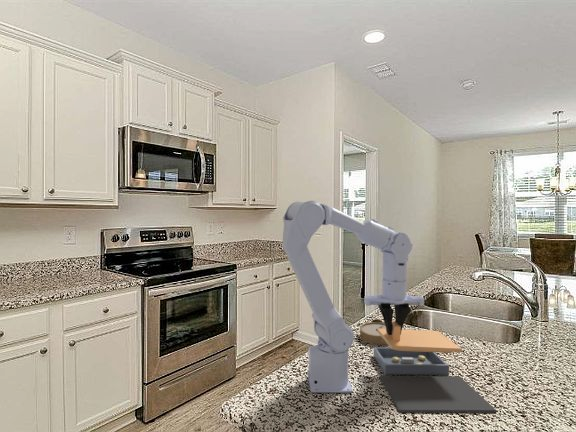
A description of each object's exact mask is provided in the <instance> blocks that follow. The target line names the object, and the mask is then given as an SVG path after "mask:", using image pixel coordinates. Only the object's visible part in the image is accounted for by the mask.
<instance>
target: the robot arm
mask: <svg viewBox="0 0 576 432" xmlns="http://www.w3.org/2000/svg"><path fill="white" fill-rule="evenodd" d="M282 220H283V229H282V230H283V233H282V244H281V245H282V249H283V250H284V253H285V255H286V257H287V259H288V262H289V263H290V266H291V268H292V270H293V272H294V275H295V277H296V279H297V281H298V283H299V285H300V288H301V289H302V292H303V294H304V296H305V299H306V301H307V303H308V304H309V305H308V306H309V307H310V309H311V312H312V313H311V317H312V319H313V330H314V333H315V335H316V336H317V337H318V339H317V344H316V345H312V346H311V345H309V347H308V367H307V368H308V370H307V379H308V383H309V389H310V390H309V391H310V392H311V393H327V394H328V393H338V394H339V393H344V394H345V393H346V394H347V393H353V388H352V385H351V382H350V380H349V349H350V348H351V347H352V345H353V343H354V341H355V334H354V331H353V329H352V328H351V326H349V325H348V324H346V322H345V321H344V318H343V316H342V315H341V314H340V313H339V312H338V310H337V309H336V307H335V306H334V303H333V302H332V299H331V296H330V294H329V293H328V290H327V288H326V286H325V284H324V281H323V279H322V277H321V274H320V272H319V270H318V268H317V266H316V264H315V261H314V259H313V257H312V255H311V253H310V250H309V247H308V245H309V243H310V241H311V238H312V237H313V235H314V234H315V233H317V231H318V230H319V229H320V227H321V226H327V225H332V226H335V227H338V228H340V229H343V230H345V231H348V232H350V233H353V234H355V236H356V238H357V240H358V241H359V242H361V243H364V244H366V245H369V246H371V247H373V248H376V249H378V250H379V251H380V252H381V253H382V288H381V289H382V290H381V291H382V293H381V294H377V295H365V296H364V301H363V302H364V305H365V306H367V307H369V306H374V305H375V306H378V308H379V311H380V312H381V313H380V314H381V315H382V318H383V322H385V326H386V332H387V333H388V335H392V320H393V316H395V317H394V319H395V320H394V321H395V322H396V323H397V324H399V325H400V326H401V331H402V330H403V327H404V325H405V322H406V320H407V318H408V316H409V315H410V313H411V309H412V308H411V307H410V306H420V307H424V306H425V298H424V297H423V296H420V295H418V296H417V295H416V296H415V295H407V270H408V269H407V262H408V260H409V255H410V253H411V251H412V250H413V243H412V242H411V240H410V237H409V236H408V235H407V234H406V233H405V232H398V231H394V230H395V229H394V227H392V226H387V227H386V225H385V226H384V225H382V224H380V223H379V220H377V219H375V218H371V219H365V220H363V221H361V220H358V219H356V218H354V217H352V216H350V215H349V214H347V213H344V212H342V211H341V210H338V209H336V208H334V207H332V206H330V205H327V204H325V203H319V202H318V201H316V200H307V201H294V202H292V203H290V204H289V206H288V207H287V209H286V211H285V213H284V215H283V217H282ZM392 306H394V309H392ZM401 331H400V335H401Z"/></svg>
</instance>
